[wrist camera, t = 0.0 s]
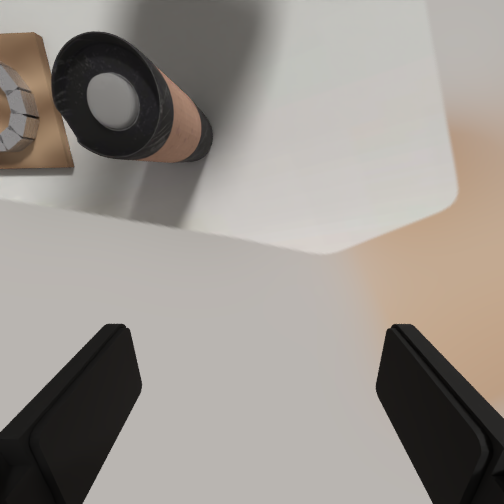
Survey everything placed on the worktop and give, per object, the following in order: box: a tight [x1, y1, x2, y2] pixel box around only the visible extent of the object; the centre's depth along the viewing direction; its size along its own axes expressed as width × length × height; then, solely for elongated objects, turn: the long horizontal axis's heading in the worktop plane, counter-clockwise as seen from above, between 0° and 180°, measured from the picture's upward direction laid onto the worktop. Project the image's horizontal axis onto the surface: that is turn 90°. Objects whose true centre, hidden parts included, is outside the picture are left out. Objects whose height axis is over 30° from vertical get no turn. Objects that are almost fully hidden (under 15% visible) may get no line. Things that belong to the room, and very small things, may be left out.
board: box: [0, 32, 74, 169], centre depth 34 cm, size 16×16×1 cm
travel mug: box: [51, 32, 213, 163], centre depth 26 cm, size 8×8×20 cm
